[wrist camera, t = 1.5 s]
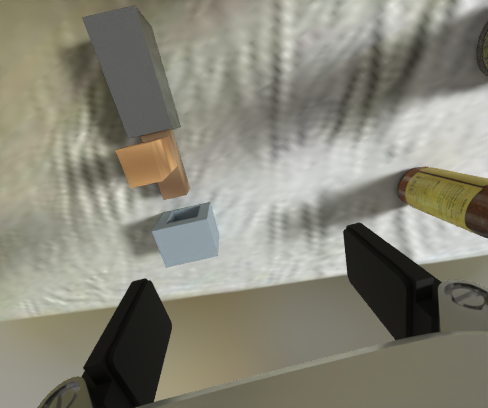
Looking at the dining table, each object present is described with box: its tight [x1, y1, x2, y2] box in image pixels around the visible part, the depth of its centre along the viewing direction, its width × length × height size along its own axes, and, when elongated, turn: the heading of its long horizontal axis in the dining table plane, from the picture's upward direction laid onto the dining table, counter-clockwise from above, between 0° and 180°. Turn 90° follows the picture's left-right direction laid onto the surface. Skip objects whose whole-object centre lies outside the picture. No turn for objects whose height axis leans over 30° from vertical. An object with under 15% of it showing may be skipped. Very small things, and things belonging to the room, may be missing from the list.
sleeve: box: [82, 6, 181, 138], centre depth 25 cm, size 11×5×5 cm, turn 12°
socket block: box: [152, 202, 219, 267], centre depth 32 cm, size 6×7×6 cm
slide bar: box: [115, 129, 190, 200], centre depth 24 cm, size 18×3×10 cm, turn 12°
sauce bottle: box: [398, 167, 488, 238], centre depth 26 cm, size 7×6×20 cm
